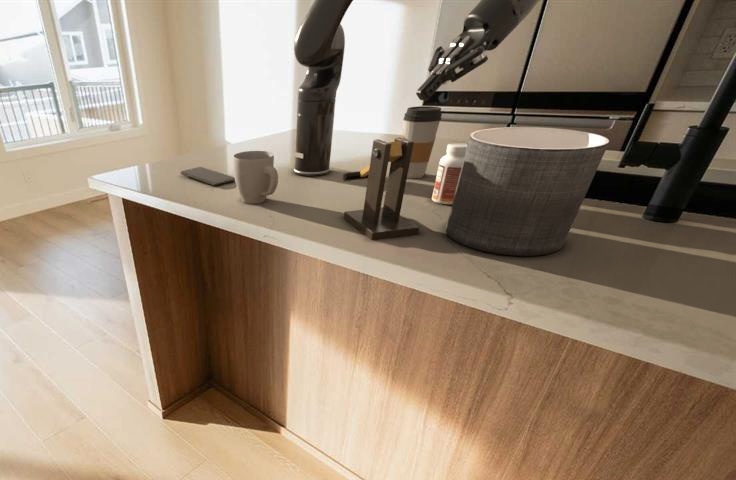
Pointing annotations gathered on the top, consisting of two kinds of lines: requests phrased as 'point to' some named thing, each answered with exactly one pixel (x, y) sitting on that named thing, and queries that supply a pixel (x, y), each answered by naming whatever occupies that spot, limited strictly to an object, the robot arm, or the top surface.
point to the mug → (255, 175)
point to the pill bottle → (449, 173)
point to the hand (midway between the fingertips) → (420, 97)
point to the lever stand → (388, 217)
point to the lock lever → (394, 155)
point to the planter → (522, 188)
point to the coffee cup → (421, 136)
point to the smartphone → (207, 176)
